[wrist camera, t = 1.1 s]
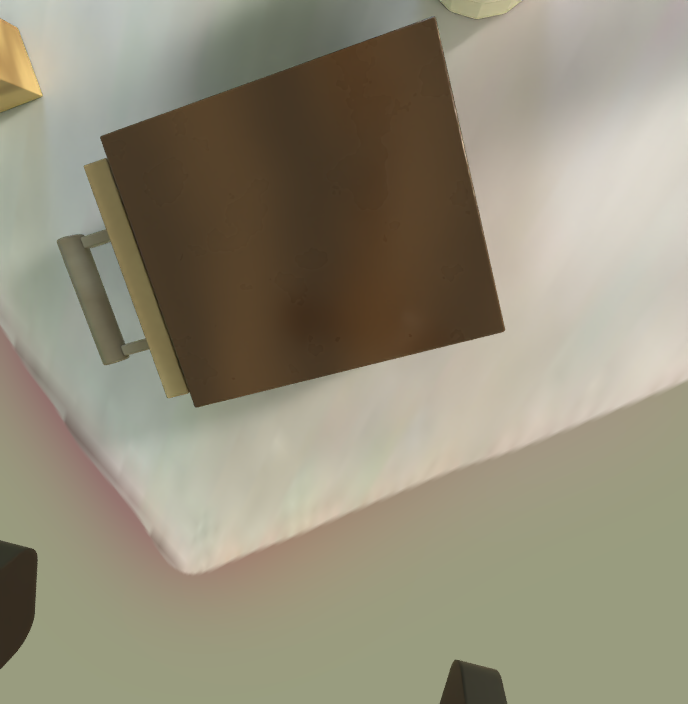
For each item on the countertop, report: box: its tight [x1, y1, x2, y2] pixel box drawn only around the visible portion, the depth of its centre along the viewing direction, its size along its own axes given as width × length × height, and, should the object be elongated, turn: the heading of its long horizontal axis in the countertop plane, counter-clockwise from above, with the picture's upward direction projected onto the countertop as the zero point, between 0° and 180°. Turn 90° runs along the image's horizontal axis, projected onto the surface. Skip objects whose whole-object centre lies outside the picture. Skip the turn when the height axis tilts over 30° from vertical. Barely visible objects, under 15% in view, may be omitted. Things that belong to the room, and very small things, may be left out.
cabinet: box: [100, 16, 505, 407], centre depth 26 cm, size 15×13×10 cm
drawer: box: [57, 158, 189, 398], centre depth 26 cm, size 18×11×8 cm, turn 106°
